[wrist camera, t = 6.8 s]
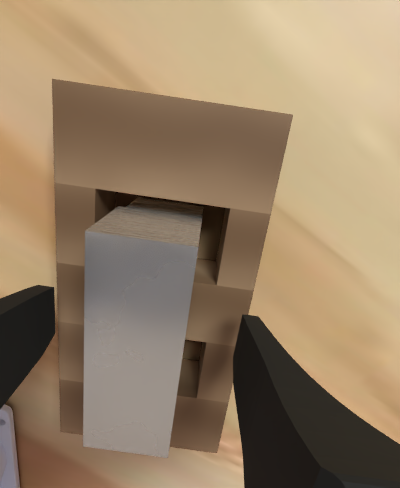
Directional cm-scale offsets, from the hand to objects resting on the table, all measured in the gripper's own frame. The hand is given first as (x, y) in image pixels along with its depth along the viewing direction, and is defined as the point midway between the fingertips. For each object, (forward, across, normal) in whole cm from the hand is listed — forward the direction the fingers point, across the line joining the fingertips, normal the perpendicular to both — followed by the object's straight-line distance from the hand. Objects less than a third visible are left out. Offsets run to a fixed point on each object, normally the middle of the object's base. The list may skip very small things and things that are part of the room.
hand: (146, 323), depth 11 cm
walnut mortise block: (+4, 0, 0) cm, 4 cm away
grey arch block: (+4, 0, 0) cm, 4 cm away
